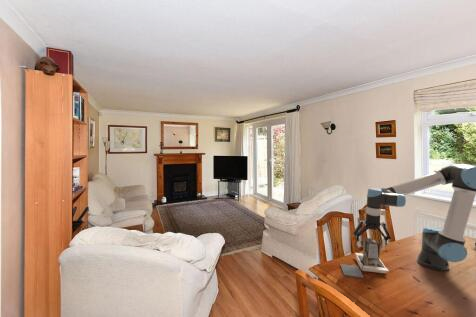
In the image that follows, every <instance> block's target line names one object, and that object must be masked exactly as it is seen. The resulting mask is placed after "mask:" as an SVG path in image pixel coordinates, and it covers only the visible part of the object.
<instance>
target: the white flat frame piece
mask: <svg viewBox="0 0 476 317" xmlns="http://www.w3.org/2000/svg"><path fill="white" fill-rule="evenodd" d="M354 253H355V259H356V262H357V265H358V267H360V268H359V269H360V271H361V272H362V271H363V272H372V273H379V274H387V272H390V271H389V269H388V268H387V267H386V266H385V265H384V263H383V261H382V260H381V259H380V258H379V267H373V266H365V265H364V264H363V252H362V253H361V252H360V253H359V252H354ZM361 261H362V262H361Z"/></svg>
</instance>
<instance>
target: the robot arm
mask: <svg viewBox="0 0 476 317" xmlns="http://www.w3.org/2000/svg"><path fill="white" fill-rule="evenodd" d="M449 184H452V185H451V188H452V189H453V193H452V196H451V201H450V203H449V208H448V210H447V214H446V218H445V219H444V224H443V227H442V228H438V227H433V226H432V227H431V226H425V227H423V229H422V234H421V235H422V236H421V239H422V240H421V250H420V251H419V254H418V255H417V259H416V261H417V263H419V264H420V265H421V266H423V267H425V268H428V269H432V270H435V271H448V270H449V267H450V265H449V264H450V263H459V262H463V261H464V260H466V258H467V256H468V250H467V248H466V247H465V244H466V239H465V238H464V235H465V230H466V228H467V223H468V221H469V218H470V213H471V212H472V207H473V204H474V201H475V197H476V165H471V164H464V163H453V164H451V165H448V166H444V167H441V168H438V169H435V170H434V171H433V172H432V173H428V174H426V175H422V176H420V177H417V178H415V179H414V178H413V179H410V180H408V181H405V182H401V183H399V184H396V185H392V186H390V187H386V188H385V187H381V188H374V187H370V188H368V190H367V193H366V194H367V195H366V207H365V208H366V210H365V212H366V213H365V221H364V220H359V223H358V224H357V226H356V228H355V229H354V231H353V233H352V234H353V236H356V237H355V241H356V242H357V248H361V236H362V235H363V234H364V233H365V232H366V231H368V230H375V231H376V230H377V231H378V232H379V234H380V235H381V236H382V238H381V249H382V251H386V250H385V248H386V246H387V244H388V240H392V237H391V235H390V232H389V231H388V228H387V224H386V223H385V222H384V221H382V222H381V214H382V213H381V212H382V211H381V210H382V206H385V207H386V206H387V207H396V208H403V207H406V206H405V205H406V202H407V199H406V196H407V195H410V194H414V193H417V192H421V191H423V190H427V189H429V188H433V187H436V186H440V185H442V186H446V185H449ZM380 227H382V229H383V231H384V232H383V231H382V230H381V228H380ZM449 262H450V263H449Z"/></svg>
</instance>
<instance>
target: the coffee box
mask: <svg viewBox="0 0 476 317" xmlns="http://www.w3.org/2000/svg"><path fill="white" fill-rule="evenodd" d="M380 250H381V244H380V243H379V241H377V240H376V239H375V238H374V237H373V238H372V237H370V238H368V237H363V252H362V254H363V261H362V264H363V265H364V266H373V267H380V265H379V259H380V254H381V253H380Z"/></svg>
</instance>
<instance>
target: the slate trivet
mask: <svg viewBox="0 0 476 317" xmlns="http://www.w3.org/2000/svg"><path fill="white" fill-rule="evenodd" d="M339 267H340V268H341V271H342V274H343V275H344V277H348V278H349V277H351V278H358V279H364V277H365V276H364V275H363V274H362V270H361V268H359V267H360V266H359V265H354V264H344V263H340V264H339Z"/></svg>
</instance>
